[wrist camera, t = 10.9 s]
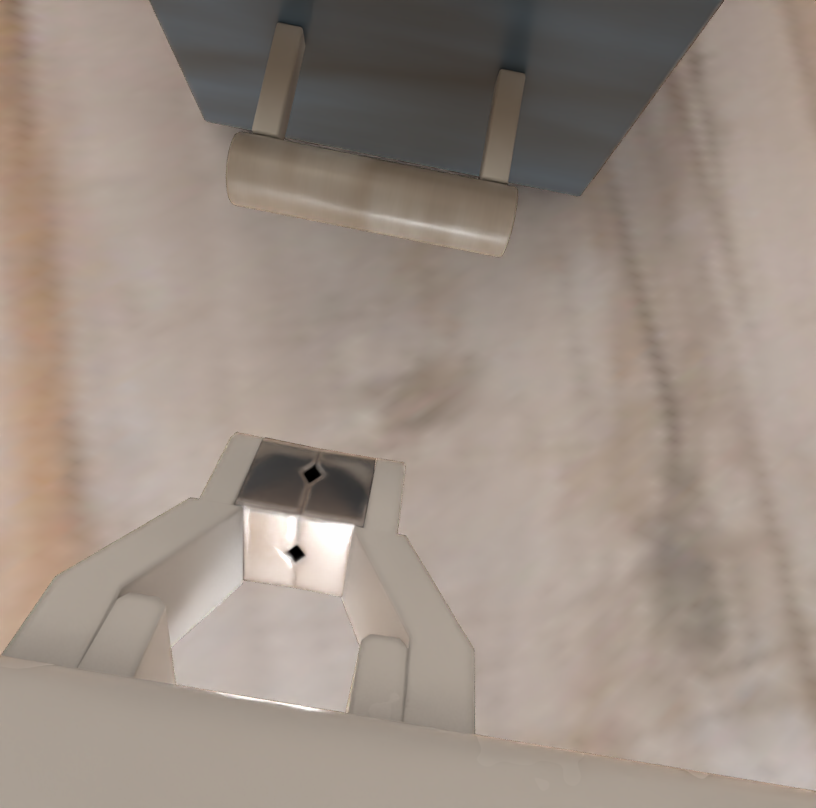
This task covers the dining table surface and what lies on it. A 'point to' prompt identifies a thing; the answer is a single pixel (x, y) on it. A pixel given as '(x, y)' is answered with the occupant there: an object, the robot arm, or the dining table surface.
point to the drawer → (423, 101)
